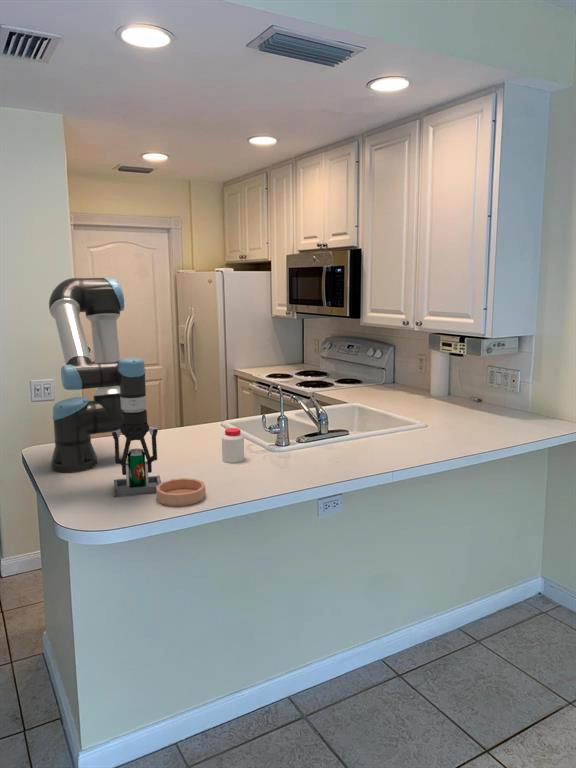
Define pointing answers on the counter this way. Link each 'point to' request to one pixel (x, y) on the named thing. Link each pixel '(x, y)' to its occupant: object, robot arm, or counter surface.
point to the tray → (125, 490)
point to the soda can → (136, 468)
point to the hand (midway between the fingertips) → (137, 483)
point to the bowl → (180, 492)
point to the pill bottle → (232, 446)
